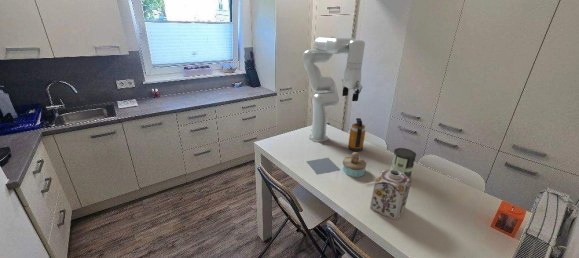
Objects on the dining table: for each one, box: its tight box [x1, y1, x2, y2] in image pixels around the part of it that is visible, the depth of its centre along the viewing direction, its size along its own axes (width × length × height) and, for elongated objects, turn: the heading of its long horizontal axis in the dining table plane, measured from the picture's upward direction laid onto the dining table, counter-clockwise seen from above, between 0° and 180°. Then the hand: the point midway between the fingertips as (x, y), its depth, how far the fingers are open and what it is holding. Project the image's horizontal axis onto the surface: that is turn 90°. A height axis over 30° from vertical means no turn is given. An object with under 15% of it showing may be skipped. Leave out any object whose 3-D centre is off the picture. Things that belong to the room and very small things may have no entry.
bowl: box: [342, 165, 366, 178], centre depth 132 cm, size 11×11×5 cm
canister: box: [347, 117, 366, 152], centre depth 154 cm, size 9×11×20 cm
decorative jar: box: [369, 169, 412, 222], centre depth 104 cm, size 12×12×18 cm
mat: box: [306, 157, 341, 175], centre depth 138 cm, size 14×14×1 cm
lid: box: [342, 151, 367, 170], centre depth 130 cm, size 12×12×6 cm
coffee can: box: [390, 147, 417, 180], centre depth 128 cm, size 10×10×14 cm
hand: (349, 98), depth 134 cm, fingers open, 9 cm apart
